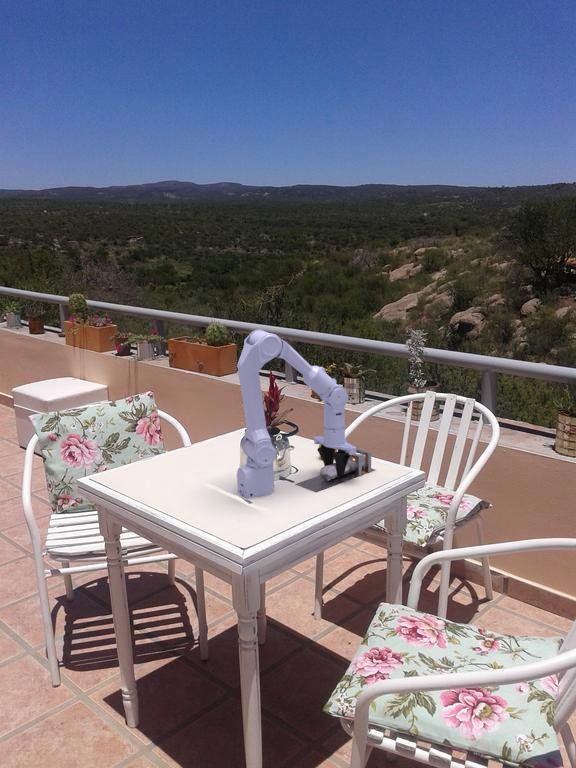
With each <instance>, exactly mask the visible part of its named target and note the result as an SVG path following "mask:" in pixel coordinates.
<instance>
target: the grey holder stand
mask: <svg viewBox="0 0 576 768" xmlns="http://www.w3.org/2000/svg"><path fill="white" fill-rule="evenodd" d="M337 452H338V450H337ZM359 454H363V455H364V456H365V467H364V468H362V456H361V455H359ZM350 457H353V458H355V471H354V472H351V473H348V474H345V475H343V476H340V477H337V478H334V479H332V480H329V481H325V480H324V479H323V478H322V477H321V474H320V475H317V476H314V477H311V478H308V479H306V480H303V481H299V482H296V483H295V484H294V485H295V486H298V487H300V488H303V489H305V490H308V491H310V492H313V493H319V492H322V491H324V490H326V489H330V488H332V487H335V486H337V485H340V484H343V483H345V482H348V481H351V480H354V479H356V478H357V479H358V477H362V476H365V475H367V474H371V473H373V472H375V471H376V469H374V468H372V452H371V451H368V450H365V449H362V448H361V449H360V448H359V447H356V454H353V455H351V456H350Z"/></svg>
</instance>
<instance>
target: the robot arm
mask: <svg viewBox="0 0 576 768" xmlns="http://www.w3.org/2000/svg"><path fill="white" fill-rule="evenodd" d="M243 343H244V344H243V349H242V350H241V354H240V357H239V359H238V362H237V371H238V378H239V386H240V393H241V398H242V405H243V413H244V414H243V415H244V420H245V425H246V427H245V428H246V430H245V431H244V434H243V435H244V441H243V444H242V450H243V453H244V455H246V456H247V458H246V462H245V464H244V465H242V466H240V467H238V468H237V471H236V481H237V485H236V486H237V492H238V493H239V494H240V495H242V496H243V497H244V498H243V497H242V499H243V500H244V501H245V502H246V503H248V504H254V503H253V502H252V501H251V500H248V499H252V498H257V497H262V496H264V497H265V496H269V495H272V494H273V493H274V492H275V472H274V462H275V460H276V458H277V451H276V448H275V446H274V445H273V443H272V438H271V436H270V434H269V432H268V429H267V422H266V417H265V416H266V414H265V408H264V401H263V394H262V393H263V392H262V387H261V378H260V373H259V371H260V370H261V369H262V368H263V367H264V366H265V365H266V363H268V362H270V361H271V360H273V359H275V358H278V359H283V360H284V361H285V362H286V363H288V364H289V365H291V366H292V367H293V368H294V369H295V370H296V371H297V372H299V373H300V374H301V375H302V381H303V383H304V384H305V385H307V386H308V387H309V388H310V389H311V390H312V391H313V392H314V393H315V394H316V395H318V396H319V398H320V400H321V401H323V427H324V428H323V436H320V435H318V436H317V435H316V436H314V437H313V438H314V439H313V441H314V444H315V445H319V444H320V445H321V447H320V448H319V447H318V448H317V452H318V453H319V457H320V456H321V457H320V458H321V459H322V462H323V467H325V466H328V465H330V464H333V463H336V471H337V476H342V475H344V472H345V468H346V465H347V462H348V460H349V458H350V456H351V455H353V454H357V452H356V448H357V446H355V445H353V444H351V443H349V442H348V441H347V439H346V423H345V421H346V420H345V419H346V416H345V413H346V412H345V411H346V404H347V403H348V401H349V394H348V392H347V390H346V388H345V387H343V386H341V385H339V384H337V382H338V381H337V379H336V378H334V377H331V376H329V374H327V373H326V369H325V368H324V367H323V366H318V365H311V364H310V363H309V362H308V361H307V360H306V359H304V358H303V356H301V354H299V352H297V351H296V350H295V349H294V348H293V346H291V345H290V344H289V343H288V342H287V341H285V340H283V339H282V338H280V337H279V335H277V334H275V333H270V332H268V331H265V330H263V329H255V330H252V331H251V332H250V333H249V335H247V337H246V338H244V342H243ZM335 449H336V450H338V451H337V452H335ZM334 460H335V462H334Z"/></svg>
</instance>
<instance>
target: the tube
mask: <svg viewBox="0 0 576 768" xmlns="http://www.w3.org/2000/svg"><path fill="white" fill-rule="evenodd" d="M358 455H361V456H362V468H364V467H365V455H363V454H360V453H358ZM354 471H355V458H353V457H350V458H349V460H348V462H347V465H346V468H345V472H344V475H345V474H348V473H351V472H354ZM320 475H321V477H322V478H323V479H324V480H325V481H329V480H332V479H334V478H337V477H340V476H337V471H336V462H334V463H333V464H330V465H328V466H322V467H321V468H320ZM342 476H343V475H342Z"/></svg>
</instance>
